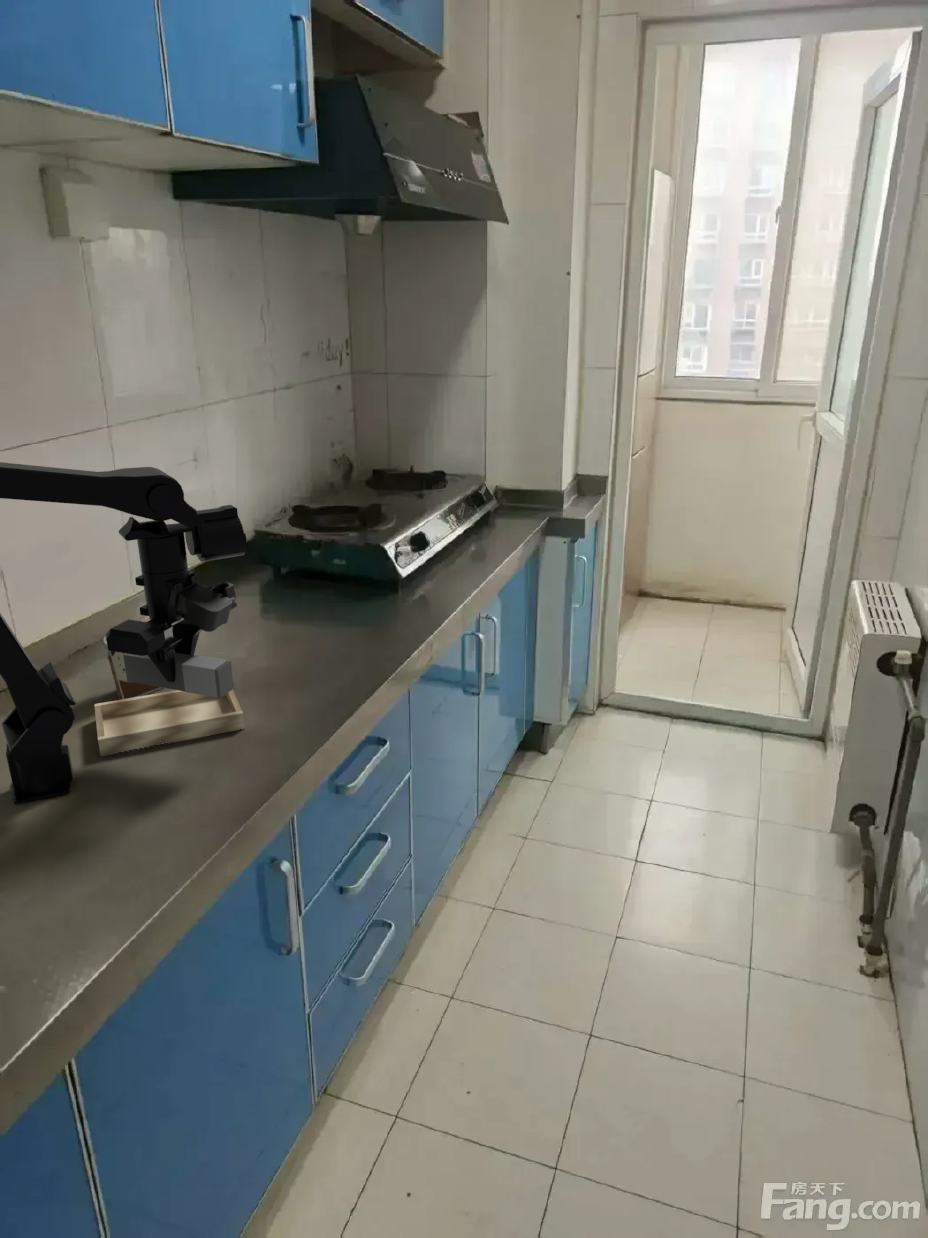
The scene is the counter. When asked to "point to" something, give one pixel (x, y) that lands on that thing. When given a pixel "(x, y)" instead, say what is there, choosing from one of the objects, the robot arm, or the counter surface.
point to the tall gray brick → (184, 674)
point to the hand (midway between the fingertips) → (178, 676)
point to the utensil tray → (164, 719)
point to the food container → (124, 676)
